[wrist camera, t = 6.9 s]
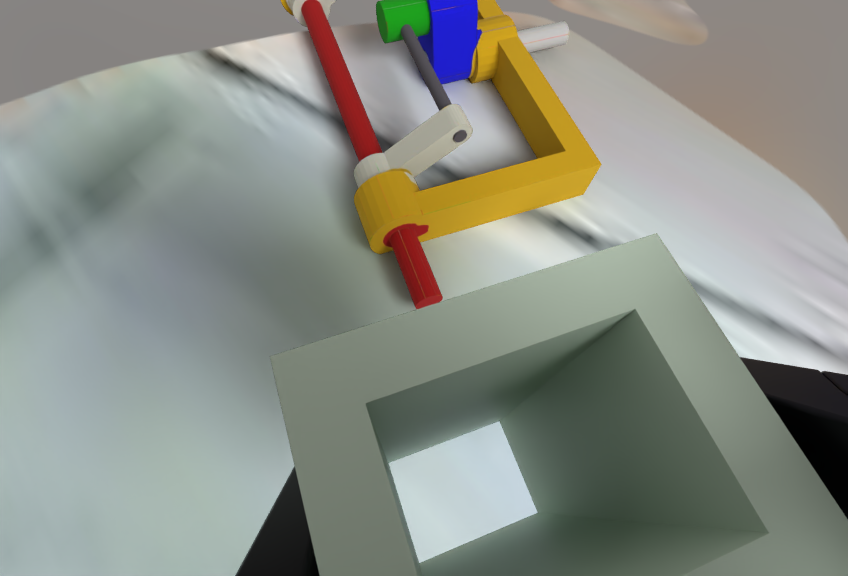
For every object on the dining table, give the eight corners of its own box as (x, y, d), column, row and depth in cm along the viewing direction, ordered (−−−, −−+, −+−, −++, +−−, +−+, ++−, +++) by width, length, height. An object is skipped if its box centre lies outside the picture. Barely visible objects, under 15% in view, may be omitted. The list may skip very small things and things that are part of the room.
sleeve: (580, 533, 14) (896, 593, 5) (397, 615, 13) (387, 874, 4) (513, 383, 16) (657, 233, 7) (350, 443, 15) (269, 355, 6)
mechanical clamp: (392, 275, 19) (249, -106, 30) (394, 326, 25) (273, -11, 36) (746, 167, 22) (498, -140, 34) (676, 234, 28) (484, -48, 39)
